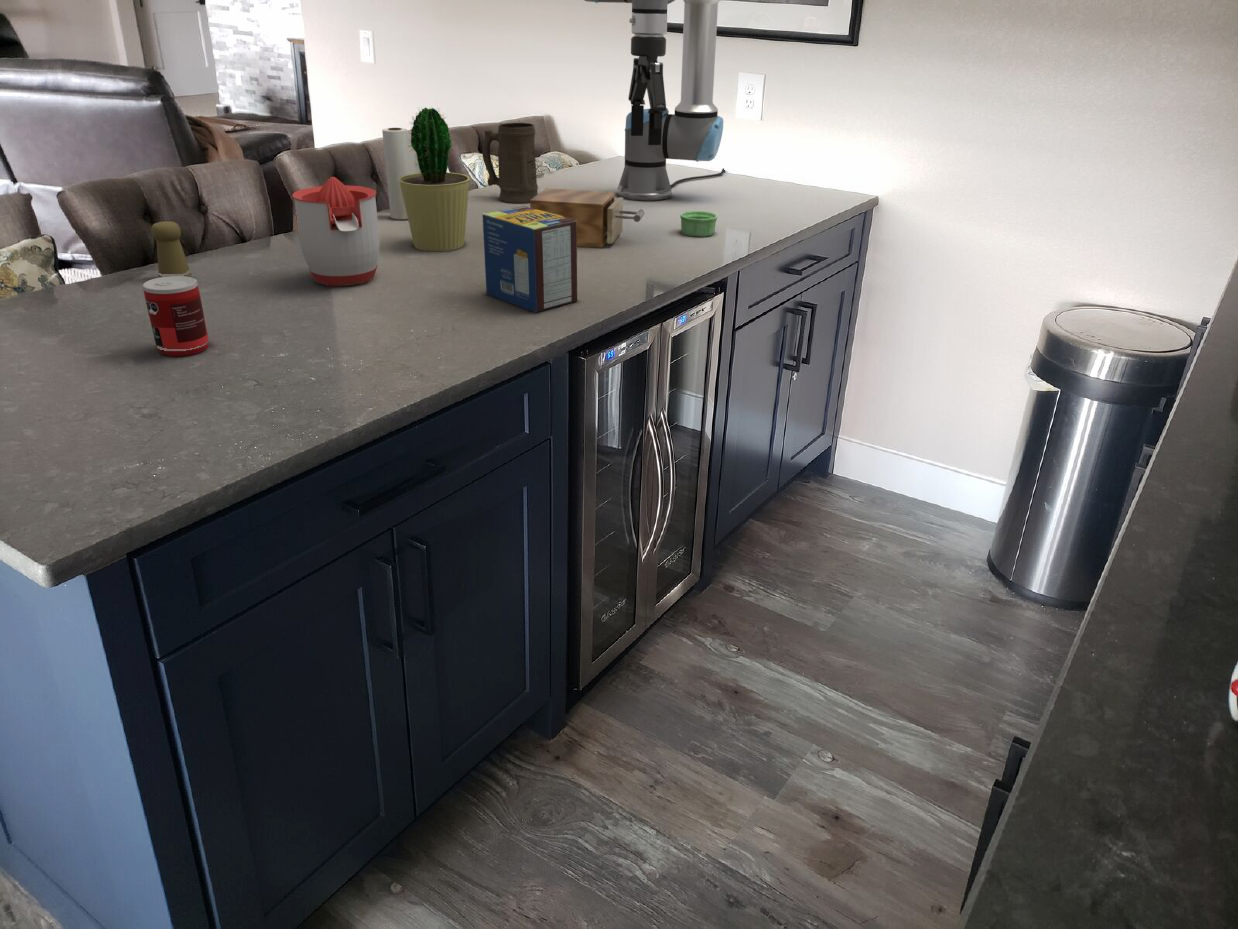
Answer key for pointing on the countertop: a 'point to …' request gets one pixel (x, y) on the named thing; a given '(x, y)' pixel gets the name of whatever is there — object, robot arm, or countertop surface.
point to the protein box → (530, 257)
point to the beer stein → (513, 161)
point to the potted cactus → (434, 187)
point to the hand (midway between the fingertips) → (645, 140)
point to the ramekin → (698, 223)
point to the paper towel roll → (398, 166)
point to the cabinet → (577, 211)
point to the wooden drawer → (616, 218)
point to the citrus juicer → (338, 232)
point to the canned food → (176, 314)
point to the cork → (169, 248)
